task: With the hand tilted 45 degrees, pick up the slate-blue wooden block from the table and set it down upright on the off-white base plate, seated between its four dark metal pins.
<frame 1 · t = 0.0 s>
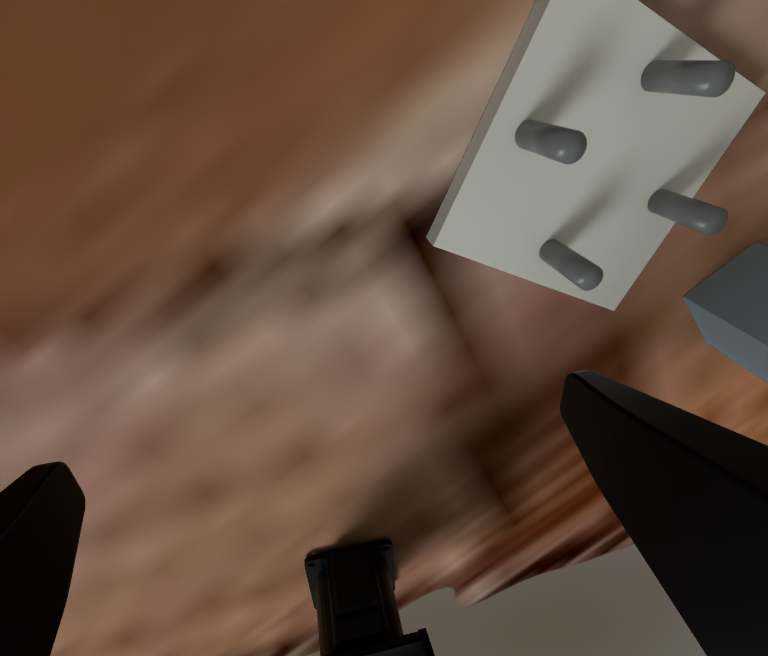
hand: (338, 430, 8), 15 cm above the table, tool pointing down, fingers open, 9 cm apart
block: (729, 295, 29), on the table
base plate: (583, 165, 22), on the table
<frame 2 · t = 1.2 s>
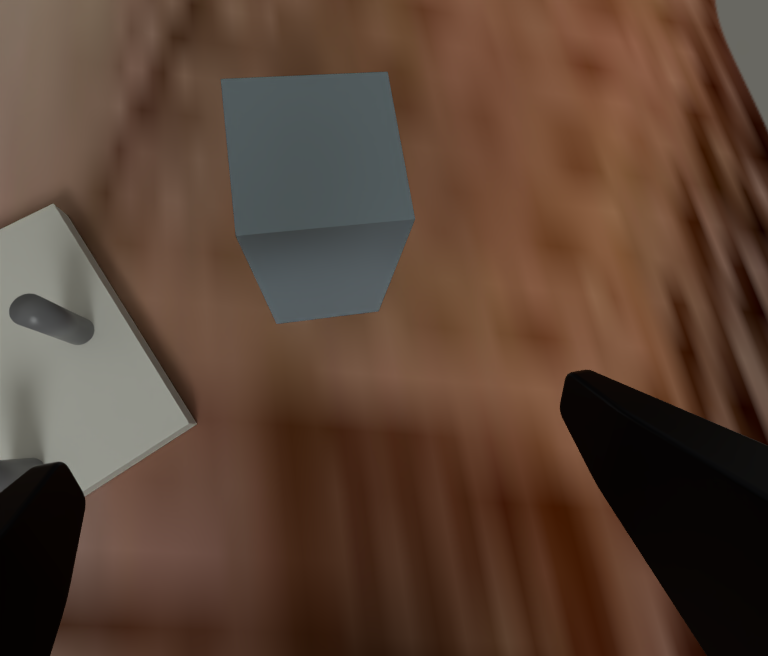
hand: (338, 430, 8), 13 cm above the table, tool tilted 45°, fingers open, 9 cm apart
block: (321, 269, 23), on the table
base plate: (1, 389, 20), on the table
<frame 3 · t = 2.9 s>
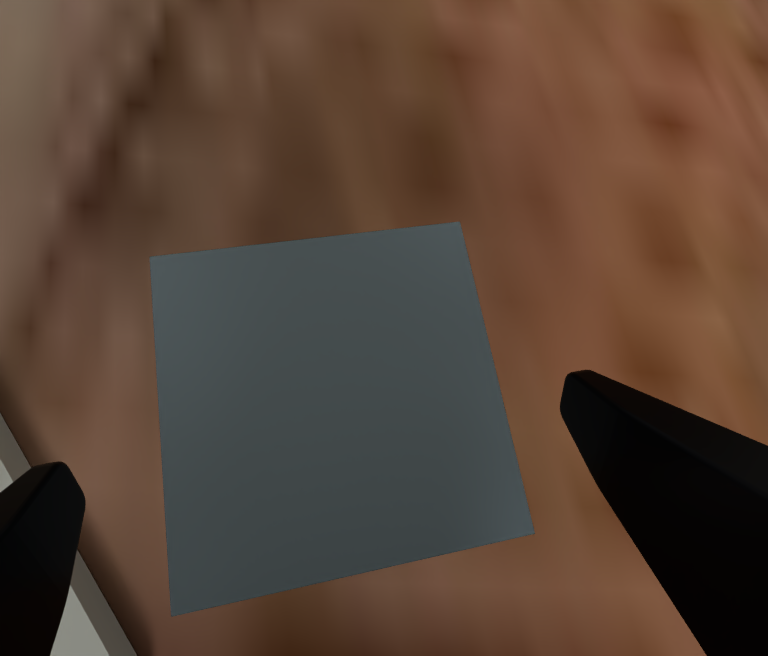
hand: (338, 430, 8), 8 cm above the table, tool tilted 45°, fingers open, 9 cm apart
block: (333, 425, 16), on the table
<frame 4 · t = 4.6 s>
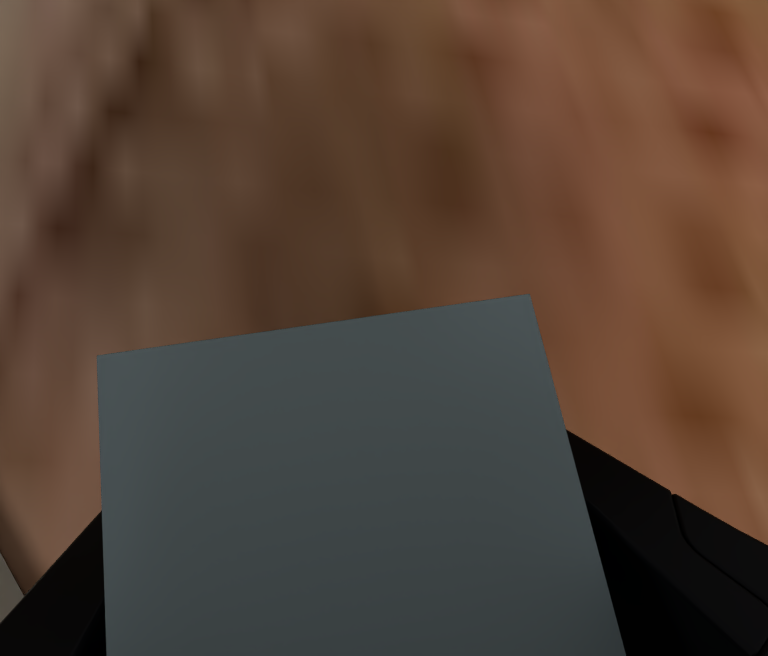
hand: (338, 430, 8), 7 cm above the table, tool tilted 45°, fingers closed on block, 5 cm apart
block: (341, 482, 14), on the table, touching gripper
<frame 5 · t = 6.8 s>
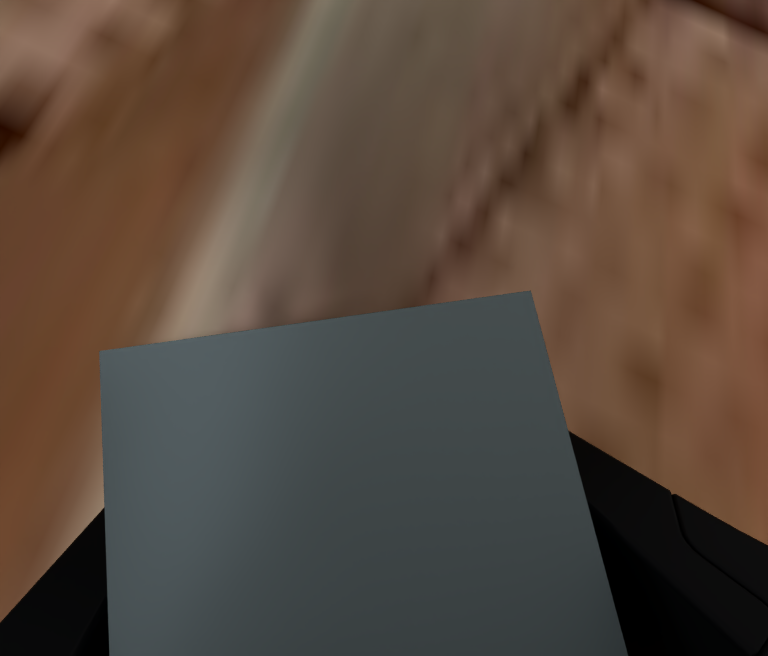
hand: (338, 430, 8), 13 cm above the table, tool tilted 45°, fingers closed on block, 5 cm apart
block: (342, 480, 14), point 7 cm above the table, touching gripper
when the fingers open (9 cm above the table, at t = 8.9 s): block drops 1 cm, resting on base plate.
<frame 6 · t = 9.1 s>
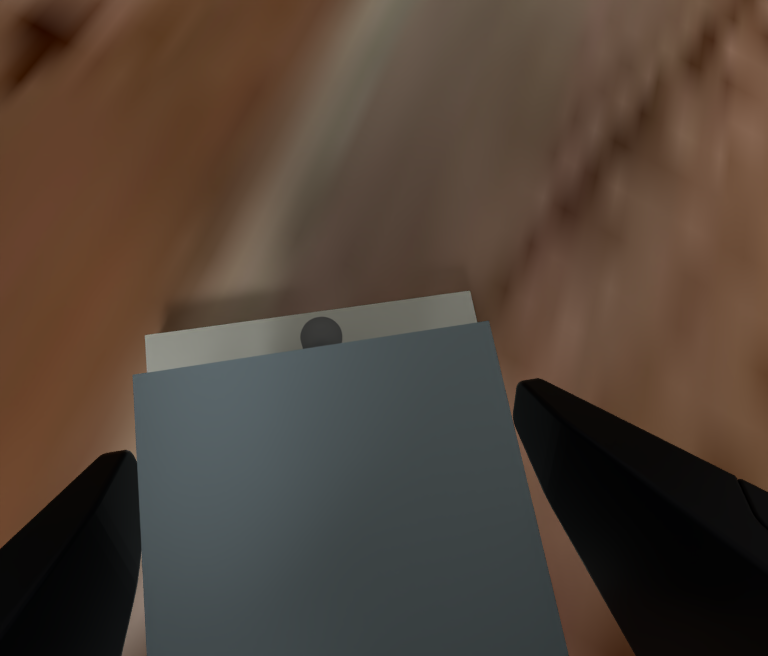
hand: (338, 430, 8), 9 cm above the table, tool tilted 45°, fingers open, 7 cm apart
block: (341, 478, 15), point 1 cm above the table, touching base plate
base plate: (340, 476, 17), on the table
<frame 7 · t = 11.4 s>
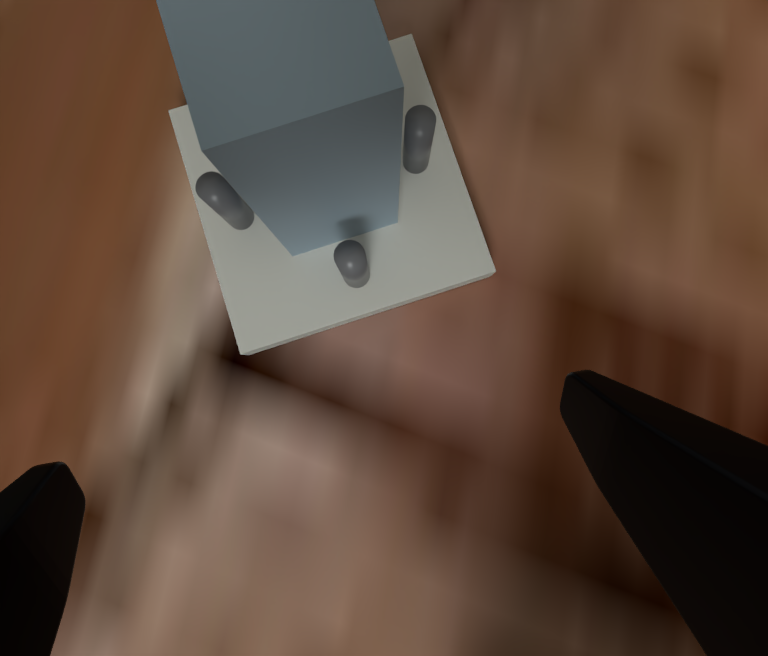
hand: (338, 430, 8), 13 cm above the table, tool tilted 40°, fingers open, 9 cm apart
block: (328, 188, 21), point 1 cm above the table, touching base plate
base plate: (331, 198, 22), on the table
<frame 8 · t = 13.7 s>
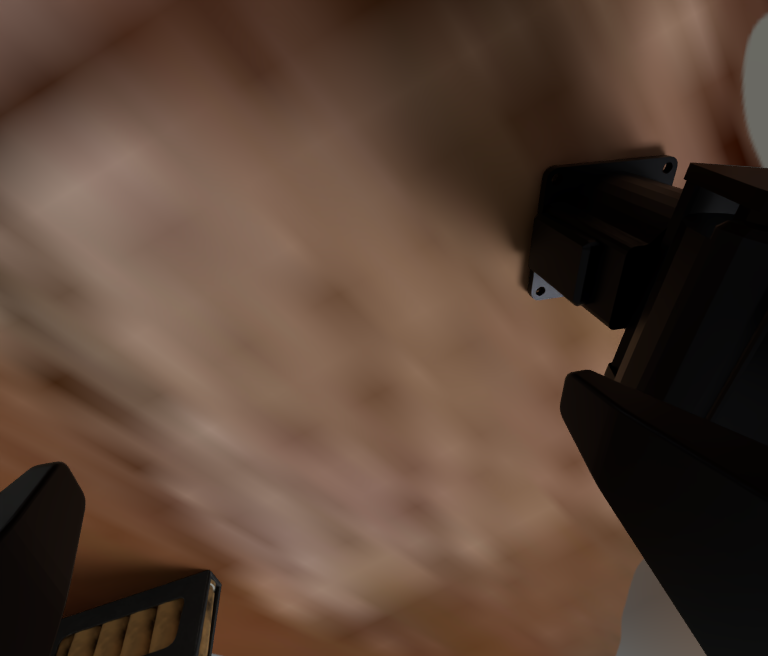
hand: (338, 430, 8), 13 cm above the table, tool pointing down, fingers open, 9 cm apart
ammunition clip: (137, 600, 30), on the table
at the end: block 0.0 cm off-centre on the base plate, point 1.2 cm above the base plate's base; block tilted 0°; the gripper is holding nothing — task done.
